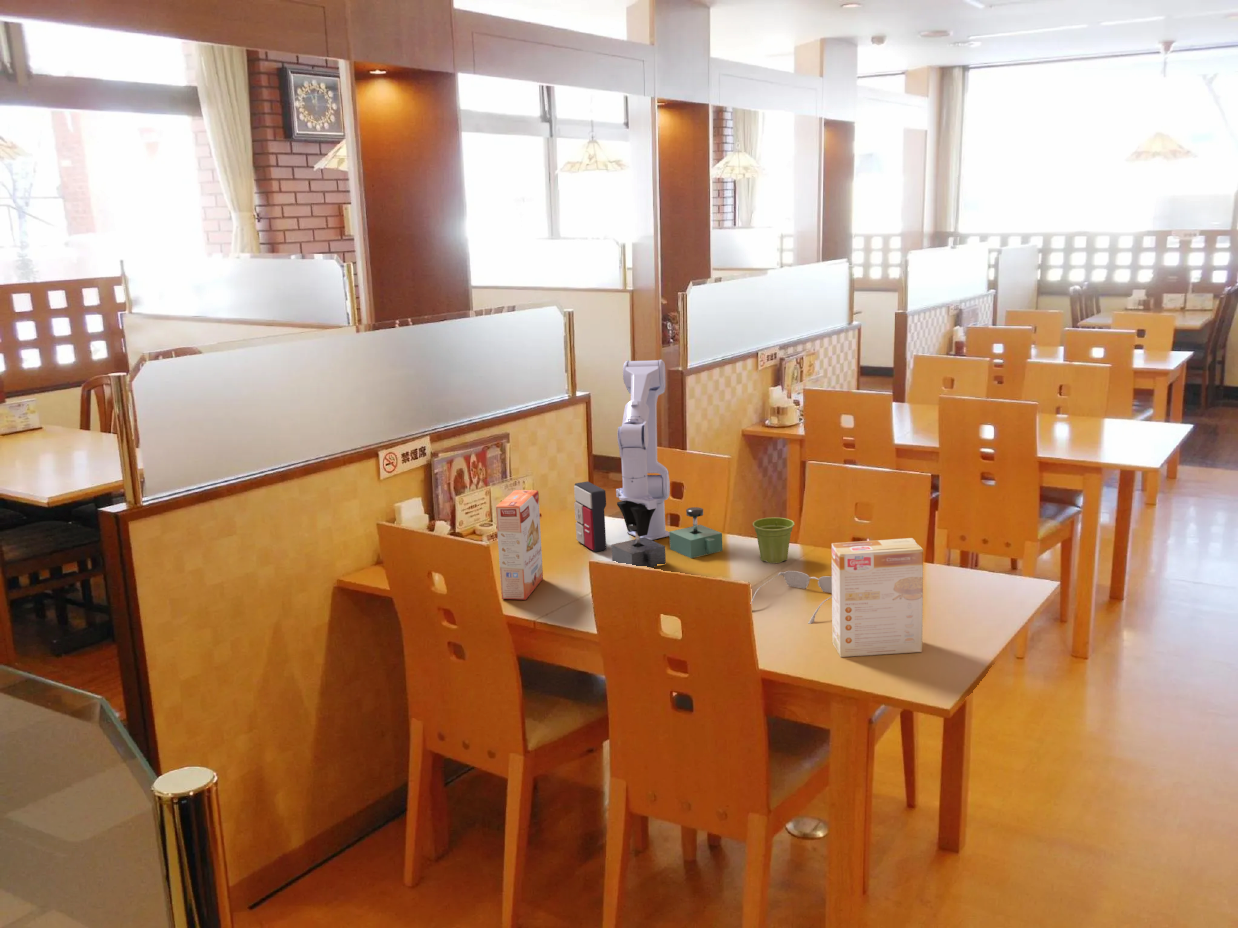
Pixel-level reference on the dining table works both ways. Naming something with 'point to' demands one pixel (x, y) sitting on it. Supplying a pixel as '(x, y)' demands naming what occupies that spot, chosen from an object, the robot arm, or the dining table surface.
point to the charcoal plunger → (633, 528)
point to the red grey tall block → (590, 515)
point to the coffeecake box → (877, 597)
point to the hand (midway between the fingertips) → (637, 533)
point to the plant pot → (773, 538)
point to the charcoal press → (639, 553)
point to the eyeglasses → (805, 584)
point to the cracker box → (519, 544)
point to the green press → (696, 541)
